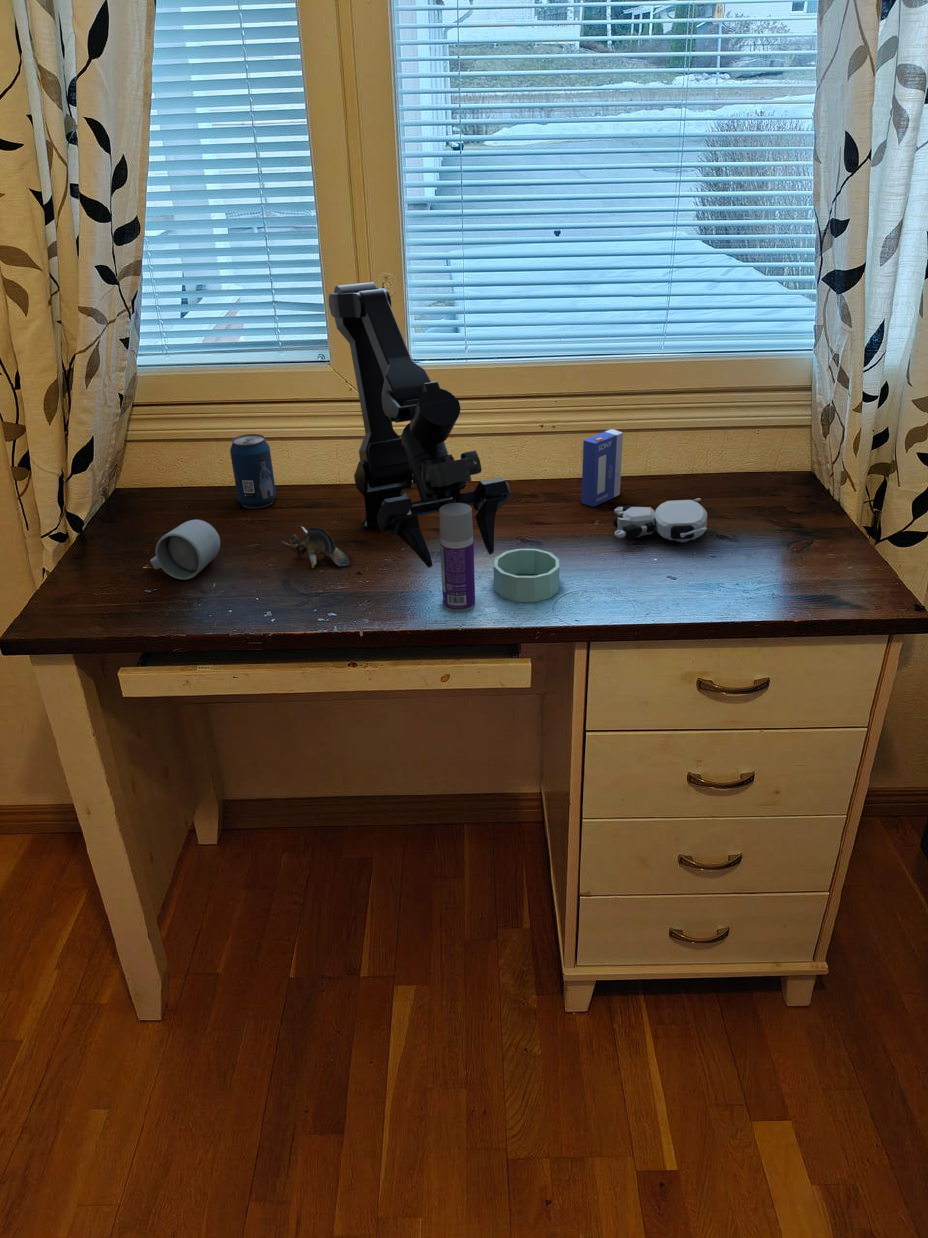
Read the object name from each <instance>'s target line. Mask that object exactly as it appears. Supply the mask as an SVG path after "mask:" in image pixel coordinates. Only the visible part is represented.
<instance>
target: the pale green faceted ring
mask: <svg viewBox="0 0 928 1238" xmlns="http://www.w3.org/2000/svg"><path fill="white" fill-rule="evenodd" d="M560 562H561V561H560V558H558V557H557V556H556V555H555V554H553V553H552V552H551V551H547V550H542V549H538V548H516V549H511V550H507V551H503V552H502V553H500V554H499V555H497V556H496V557H495V558H494V560H493V590H494V592H496V593H497V594H498V595H499V596H500V597H501V598H502V599H506V600H509V601H513V602H515V603H537V602H541V601H545V600H549V599H551V598H552V597H553V596H555V595H556V594H557V593H559V592H560ZM522 574H523V575H522ZM527 574H528V575H527Z"/></svg>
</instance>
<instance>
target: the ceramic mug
mask: <svg viewBox="0 0 928 1238" xmlns="http://www.w3.org/2000/svg"><path fill="white" fill-rule="evenodd" d="M220 549H221V537H220V535H219V533H218V531H217V530H216V528H215V527H214V526H213V525H211V523H209V522H207V521H205V520H202V519H190V520H186V521H185V522H183V523H181V524H179V525H178V526H177V527H175V528H174V529H172V530H170V531H169V532H168V533H165V534H164V535H162V536H161V537H160V539H158V541H157V543H156V546H155V551H154V553H155V556H153V557H152V558H151V559H150V560H149V562H150V564H151V566H152V568H153V569H154V570H159V569H161V570H162V571H163V572H164V573H166V574H167V575H169V577H171V578H174V579H176V580H182V581H187V580H192V579H193V578H195V577H196V576H197V575H199V573H201V572H202V571H203V570H204V569H205V568H206V567H207V566H208V565H209V564H210V563H211V562H212V561H213V560H214V559H215V558H216V557H217V556H218V553H219V551H220Z"/></svg>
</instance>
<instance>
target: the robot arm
mask: <svg viewBox="0 0 928 1238" xmlns="http://www.w3.org/2000/svg"><path fill="white" fill-rule="evenodd" d="M333 290H334V291H333V293H329V294H328V305H329V306H328V307H329V312H330V314H331V316H332V317H333V318H334V322H335V327H336V329H337V331H339V333H340V334H341V336H343V338H344V339H345V340H346V341H347V342H348V343H349V348H350V354H351V359H352V365H353V370H354V376H355V382H356V387H357V392H358V399H359V405H360V410H361V416H362V422H363V427H364V433H365V434H364V436H363V439H362V442H361V445H360V448H359V450H358V455H359V461H358V463H357V466H356V469H355V472H354V476H353V478H354V483H355V488H356V489H357V490H358V492H359V493H360V494H361V495H362V496H363V497H364V507H365V508H364V510H365V520H366V521H365V523H364V529H368V530H370V529H375V530H377V529H378V530H379V532H380V533H386V532H389V534H390V536H391V537H394V536H396V537H398V538H399V539H401V540H402V542H404V543H405V544H406V545H407V546H408V547H409V548H410V549H411V550H412V551H413V552H414V553H415V554H416V555H417V556H418V558H419V559H420V560H421V561H422V562H423V563H424V564H425V566H426V567H427V568H428V569H430V568H432V567H433V561H432V557H431V553H430V551H429V548H428V546H427V543H426V541H425V538H424V535H423V533H422V530H421V528H420V521H419V516H425V515H428V514H434V513H439V509H440V507H442V506H443V505H446V504H449V503H464V504H467V505H469V506H470V507H472V506H473V510H475V511H477V513H476V514H475V516H474V518H475V521H476V524H477V527H478V529H479V532H480V535H481V539H482V541H483V544H484V547H485V549H486V551H487V553H488V555H489V556H490V555H493V553H494V552H495V522H496V521H495V520H496V514H497V512H498V511H499V510H500V509H501V508H502V507H503V506H504V504H505V503H506V502H507V501H508V499H509V498H510V496H511V495H512V490H511V487H510V485H509V482H507V481H506V480H505V479H504V478H502V477H497V478H493V479H486V480H482V481H479V482H478V484H477V486H476V487H475V488H474V490H472V491H466V492H462V490H464V489H465V488H466V487H467V484H466V483H470V482H472V476H474V475H478V474H481V473H482V464H481V460H480V457H479V454H478V452H477V450H469V451H465V452H462V453H461V454H460V459H455V457H454V456H453V454H449V451H448V448H447V445H446V441H447V439H448V438H449V437H450V434H451V432H452V431H453V429H454V428H455V425H456V423H457V421H458V420H459V419H458V418H460V417H459V416H460V414H461V404H460V401H459V399H457V398H456V396H455V395H454V394H452V393H451V392H450V391H448V390H447V389H444V388H441V387H440V384H439V381H432V380H431V379H430V377H429V375H428V373H427V370H426V369H424V368H423V367H422V366H420V365H419V364H417V363H416V362H414V361H413V359H412V357H411V354H410V352H409V349H408V346H407V344H406V342H405V339H404V336H403V334H402V332H401V330H400V329H401V328H400V327H399V323H398V322H397V319H396V317H395V314H394V312H393V309H392V299H391V294H390V292H389V290H388V288H383V287H382V288H381V287H380V288H379V287H377V285H376V283H374V281H371V282H361V283H360V282H359V283H351V284H341V285H335V286H334V289H333ZM404 422H405V423H406V422H409V423H407V424H406V425H405V427H404V428H403V430H402V432H401V434H400V435H399V434H398V433H397V431H395V430H394V426H393V423H396V424H398V423H404ZM412 485H416V489H417V493H418V496H419V498H420V500H419V501H414V502H412V499H411V497H410V496H409V495H408V494H407V493H404V490H406V489H409V490H410V489H412Z"/></svg>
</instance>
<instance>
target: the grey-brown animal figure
mask: <svg viewBox="0 0 928 1238" xmlns="http://www.w3.org/2000/svg"><path fill="white" fill-rule="evenodd" d="M300 528H301V531H303V533H304V536H305V539H304V540H301V541H300V538H299V537H298V536H297V535H296V534H294V533H293V534H292V535H291V536H290V537H289V539H288V540H289V543H288V542H285V541H283V540H282V541H281V543H282V545H283V546H284V547H286V548H289V549H291V550H292V551H293V552H294V553H295V554H296V556H297V557H296V558H297V559H301V558H302V556H303V555H304V554H305V553H307V555H308V558H309V560H310V563H311V569H314V568H315V566H316V565H317V556H318V555H320V554H321V555H325V556H326V557H328V558H329V559H330V560H331V561H333V563H335V565H336V566H337V567H347V566H349V565H351V564H350V562H351V560H350V558H349V557H348V555H347V554H346V553H345V552H344V551H342V550H341V549H340V548H338V547H336V545H335V541H334V539H333V538H332V536H331V534H330V533H329V532H328V531H326V530H325V529H324V528H320V527H312V526H311V527H310V528H309V529H308V530H307V529H306V528H305V527H304V526H301V525H300ZM302 547H303V548H302ZM300 548H302V549H300Z"/></svg>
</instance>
